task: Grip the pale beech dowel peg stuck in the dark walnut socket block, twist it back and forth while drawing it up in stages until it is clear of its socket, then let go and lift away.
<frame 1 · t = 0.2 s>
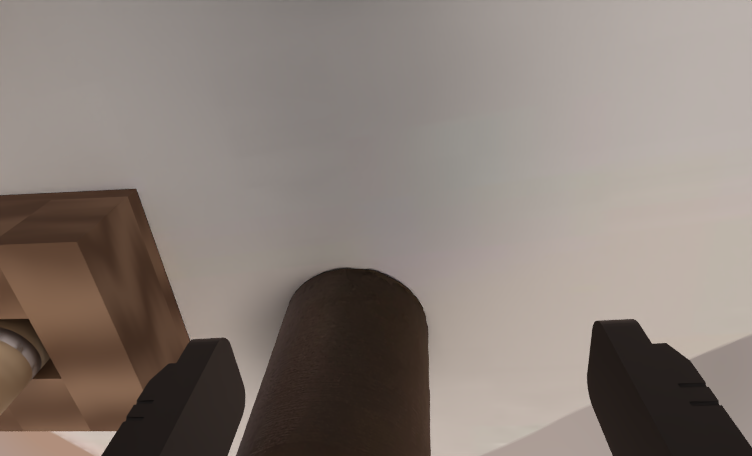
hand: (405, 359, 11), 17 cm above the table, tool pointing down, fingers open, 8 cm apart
pillar candle: (354, 324, 34), on the table
socket block: (70, 287, 33), on the table
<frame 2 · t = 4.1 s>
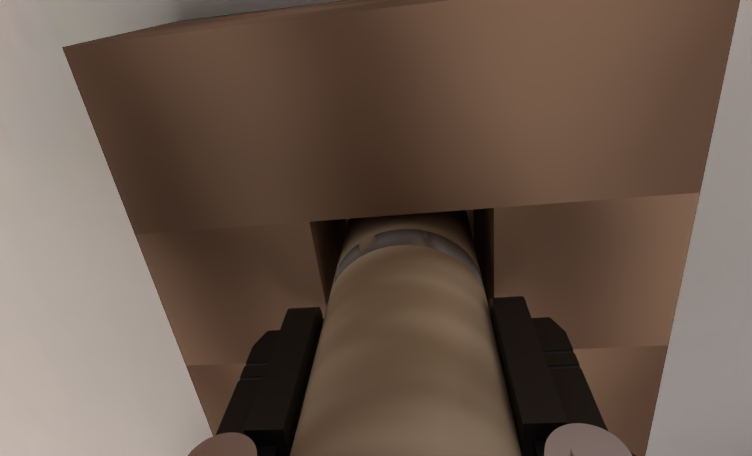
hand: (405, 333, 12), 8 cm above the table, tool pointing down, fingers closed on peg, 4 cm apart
peg: (407, 316, 12), point 7 cm above the table, slide at 0.0 cm, touching gripper
socket block: (408, 198, 18), on the table
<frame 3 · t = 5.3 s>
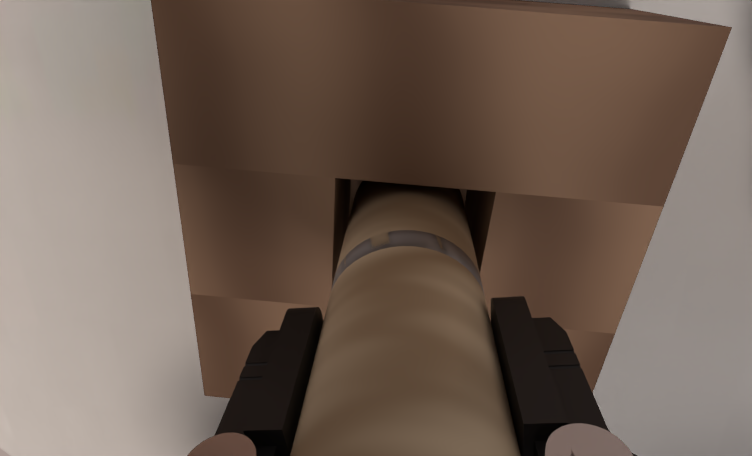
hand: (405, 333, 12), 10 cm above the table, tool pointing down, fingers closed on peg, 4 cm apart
peg: (406, 316, 12), point 9 cm above the table, slide at 2.0 cm, touching gripper
socket block: (408, 179, 20), on the table
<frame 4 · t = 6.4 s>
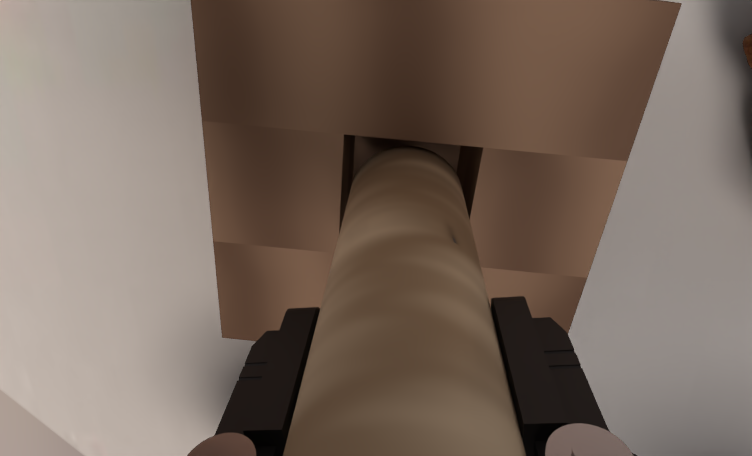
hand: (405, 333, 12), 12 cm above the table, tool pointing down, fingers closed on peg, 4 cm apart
peg: (405, 300, 12), point 12 cm above the table, slide at 4.5 cm, touching gripper
socket block: (406, 147, 22), on the table
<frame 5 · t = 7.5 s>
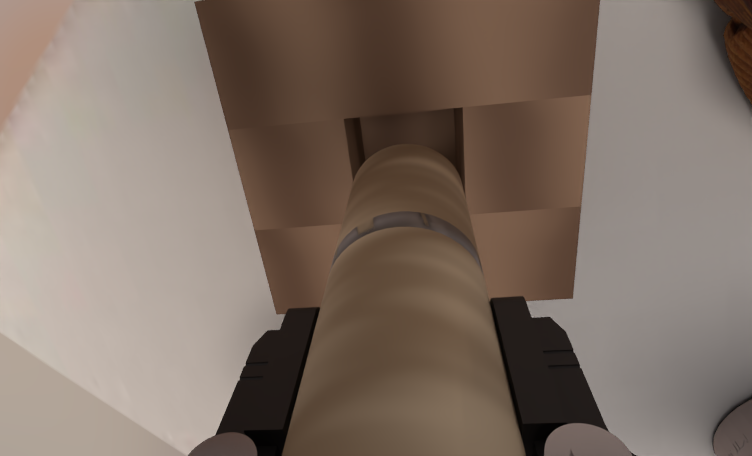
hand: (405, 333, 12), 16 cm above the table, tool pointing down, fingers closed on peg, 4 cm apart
peg: (405, 299, 12), point 15 cm above the table, slide at 7.7 cm, touching gripper
socket block: (408, 125, 25), on the table
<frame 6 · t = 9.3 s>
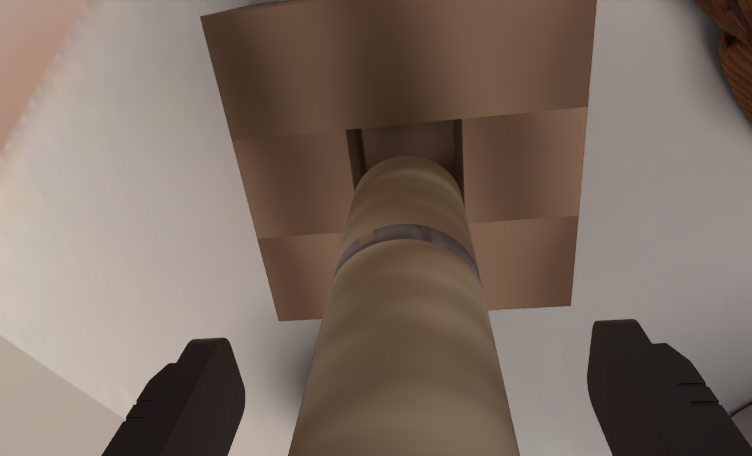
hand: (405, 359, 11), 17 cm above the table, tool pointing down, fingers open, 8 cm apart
peg: (405, 309, 13), point 15 cm above the table, slide at 7.7 cm
socket block: (408, 135, 26), on the table
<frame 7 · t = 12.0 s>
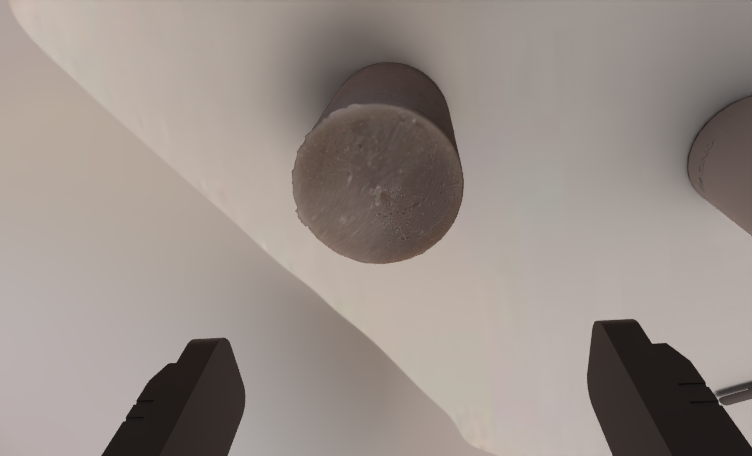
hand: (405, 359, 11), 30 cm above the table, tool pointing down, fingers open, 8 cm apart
pillar candle: (387, 122, 39), on the table
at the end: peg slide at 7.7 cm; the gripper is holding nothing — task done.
